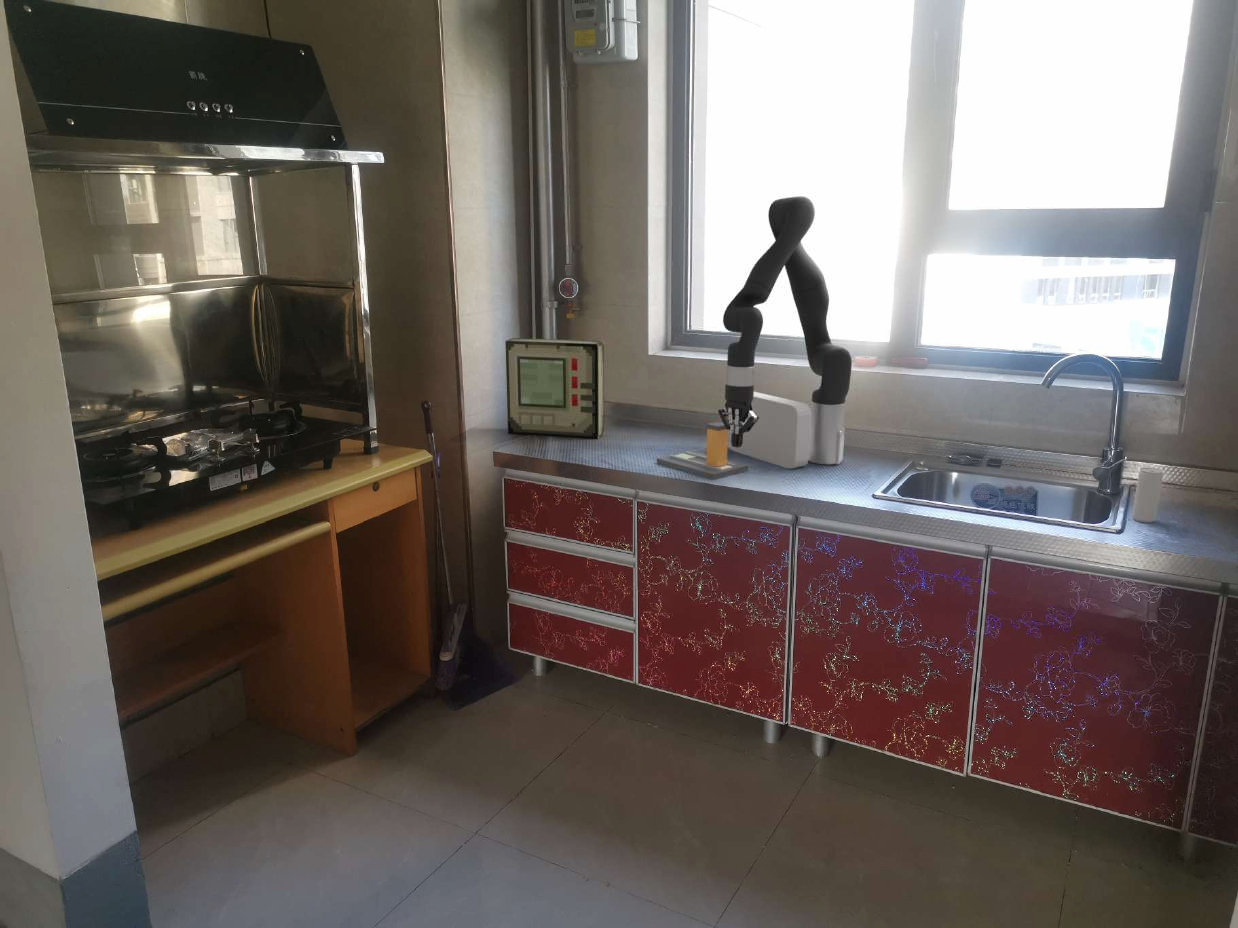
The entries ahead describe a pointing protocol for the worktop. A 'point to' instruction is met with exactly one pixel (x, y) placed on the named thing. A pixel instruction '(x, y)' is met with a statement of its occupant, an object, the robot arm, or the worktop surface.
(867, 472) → the worktop surface
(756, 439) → the rounded white slab
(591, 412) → the control panel
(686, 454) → the plate
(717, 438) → the handle
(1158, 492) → the beverage can
